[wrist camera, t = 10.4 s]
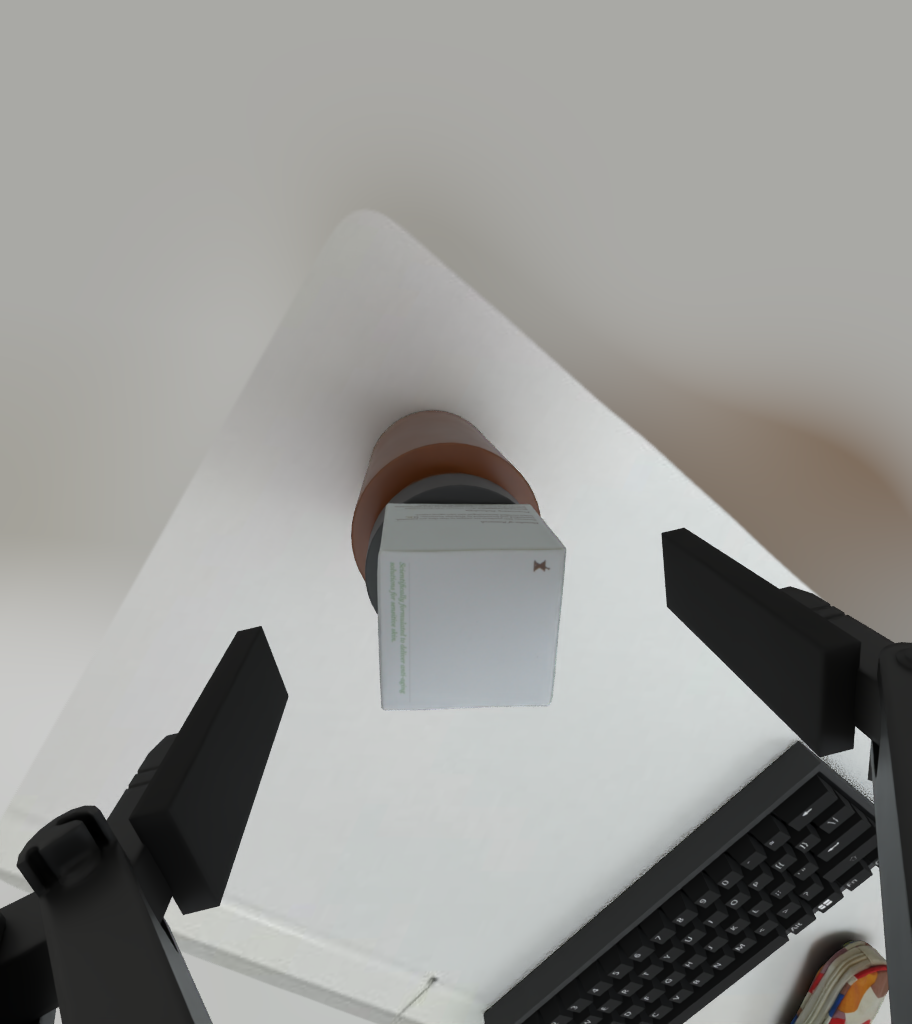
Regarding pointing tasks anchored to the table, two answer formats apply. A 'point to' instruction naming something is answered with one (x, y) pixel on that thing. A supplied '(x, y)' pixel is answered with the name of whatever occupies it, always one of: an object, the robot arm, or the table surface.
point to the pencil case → (846, 988)
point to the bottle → (429, 478)
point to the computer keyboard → (710, 904)
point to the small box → (467, 606)
